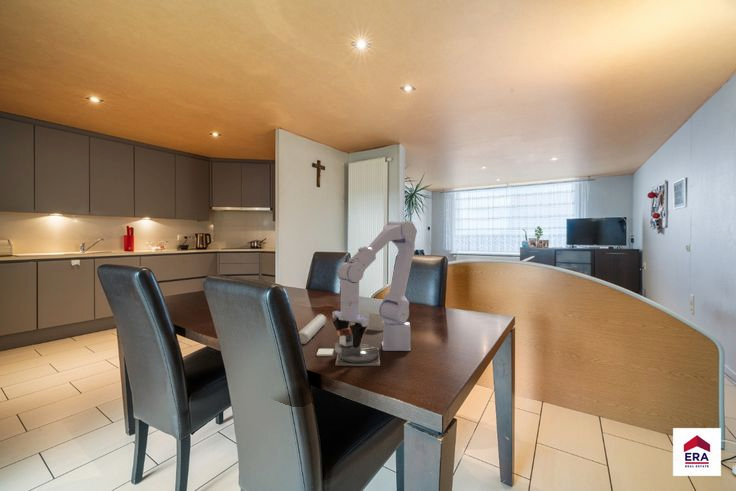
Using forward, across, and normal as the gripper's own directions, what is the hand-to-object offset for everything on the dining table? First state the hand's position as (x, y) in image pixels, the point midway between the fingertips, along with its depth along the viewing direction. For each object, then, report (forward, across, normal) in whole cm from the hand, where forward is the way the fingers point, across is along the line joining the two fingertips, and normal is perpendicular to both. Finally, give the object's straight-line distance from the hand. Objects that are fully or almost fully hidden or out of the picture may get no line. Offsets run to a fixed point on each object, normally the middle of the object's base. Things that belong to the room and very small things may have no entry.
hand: (349, 344), depth 98 cm
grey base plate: (+5, 0, +4) cm, 6 cm away
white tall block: (+3, -1, 0) cm, 3 cm away
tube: (+5, -29, +7) cm, 31 cm away
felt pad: (+5, -10, -2) cm, 11 cm away
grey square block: (+6, -16, +29) cm, 34 cm away
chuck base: (+5, 0, +4) cm, 6 cm away
